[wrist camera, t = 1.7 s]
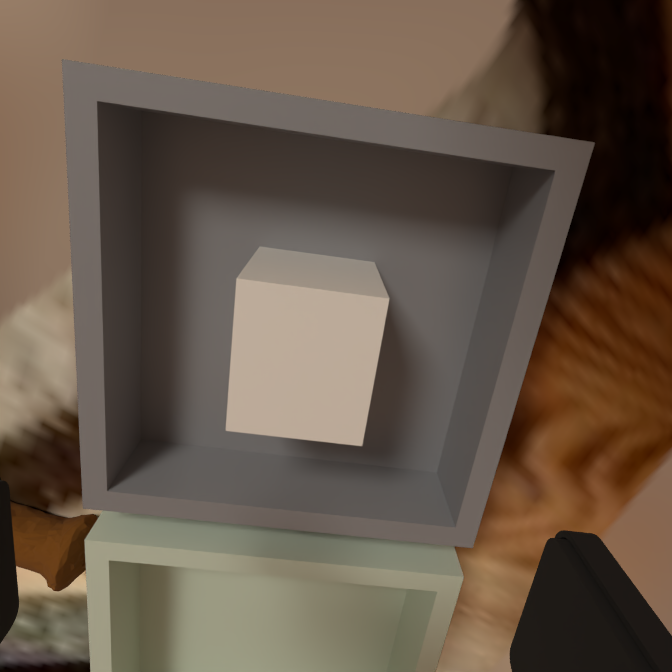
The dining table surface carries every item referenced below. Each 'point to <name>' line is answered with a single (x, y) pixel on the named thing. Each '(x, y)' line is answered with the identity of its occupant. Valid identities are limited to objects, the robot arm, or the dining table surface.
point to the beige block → (305, 346)
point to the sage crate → (262, 598)
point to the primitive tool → (50, 544)
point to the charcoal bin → (316, 238)
